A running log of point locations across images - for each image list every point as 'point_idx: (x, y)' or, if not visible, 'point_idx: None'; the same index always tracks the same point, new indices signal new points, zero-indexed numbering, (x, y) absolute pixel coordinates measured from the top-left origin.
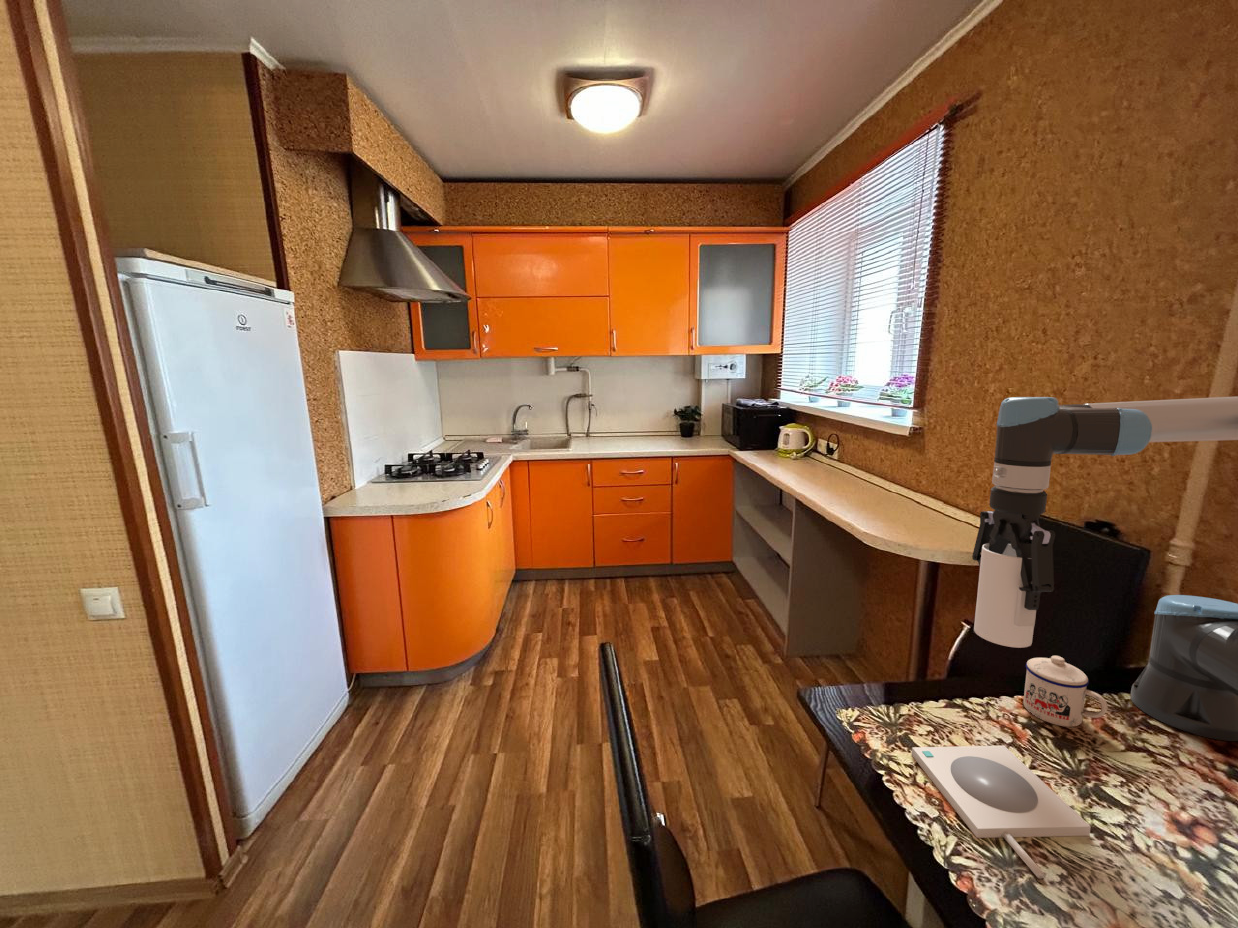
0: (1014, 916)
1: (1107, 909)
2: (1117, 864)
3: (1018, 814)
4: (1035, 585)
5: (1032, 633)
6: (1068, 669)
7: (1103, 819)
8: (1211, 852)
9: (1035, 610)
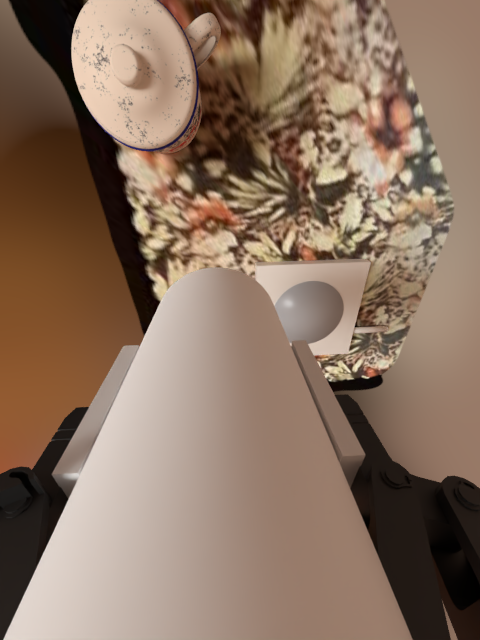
0: (396, 357)
1: (415, 299)
2: (393, 259)
3: (343, 315)
4: (442, 550)
5: (270, 302)
6: (158, 63)
7: (354, 226)
8: (417, 140)
9: (324, 378)
